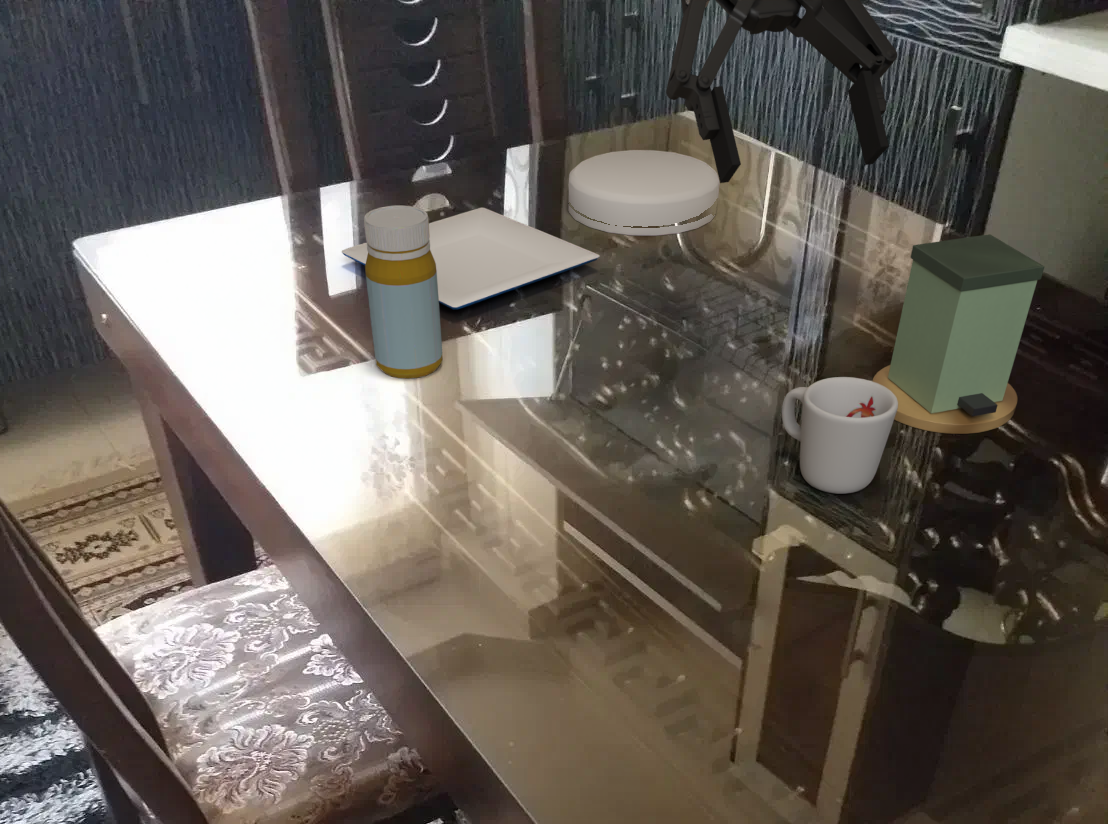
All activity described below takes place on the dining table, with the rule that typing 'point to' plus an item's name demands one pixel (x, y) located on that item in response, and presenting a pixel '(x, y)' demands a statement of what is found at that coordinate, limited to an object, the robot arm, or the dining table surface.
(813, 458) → the cup
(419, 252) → the bottle
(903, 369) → the bin
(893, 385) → the disc
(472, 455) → the dining table surface
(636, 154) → the container
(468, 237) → the plate
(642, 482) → the dining table surface
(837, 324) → the dining table surface
